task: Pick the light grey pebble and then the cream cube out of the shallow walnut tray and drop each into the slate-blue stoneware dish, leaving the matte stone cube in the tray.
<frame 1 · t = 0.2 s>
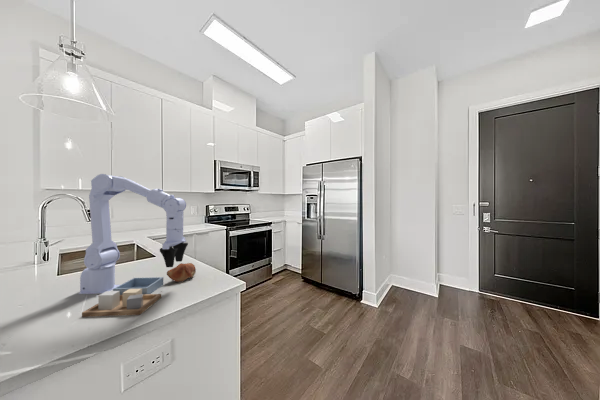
hand: (174, 264, 86), 10 cm above the counter, fingers open, 7 cm apart
cream cube: (132, 304, 73), resting on tray
tray: (125, 307, 72), on the counter
bread loaf: (182, 280, 97), on the counter
matte stone cube: (135, 309, 70), resting on tray
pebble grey: (109, 307, 71), resting on tray
dish: (139, 291, 84), on the counter
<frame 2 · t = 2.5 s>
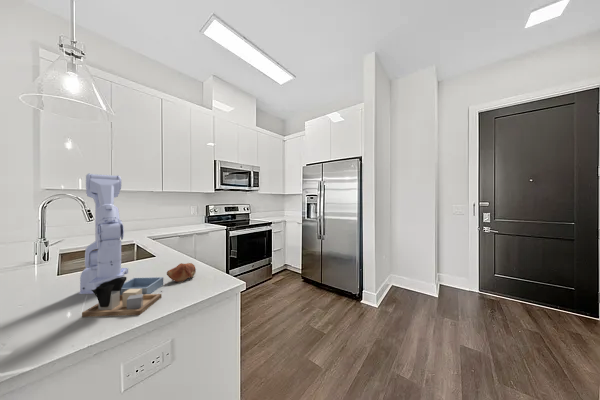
hand: (109, 303, 71), 2 cm above the counter, fingers closed on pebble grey, 3 cm apart
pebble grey: (109, 307, 71), resting on tray, touching gripper
everything else where it was.
when the fingers open (4 cm above the counter, at t = 5.1 s): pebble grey drops 2 cm, resting on dish.
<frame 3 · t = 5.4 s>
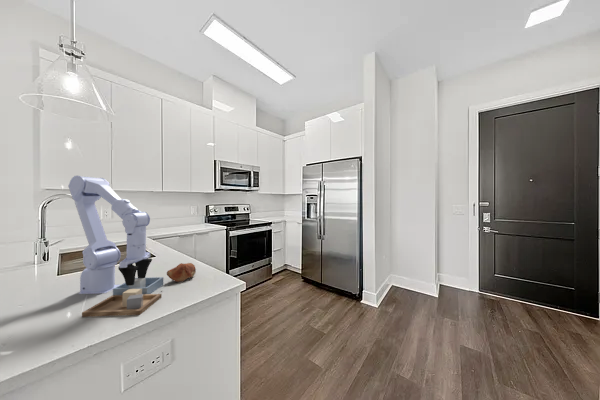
hand: (136, 281, 82), 4 cm above the counter, fingers open, 6 cm apart
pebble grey: (137, 292, 82), point 1 cm above the counter, touching dish
everything else where it was.
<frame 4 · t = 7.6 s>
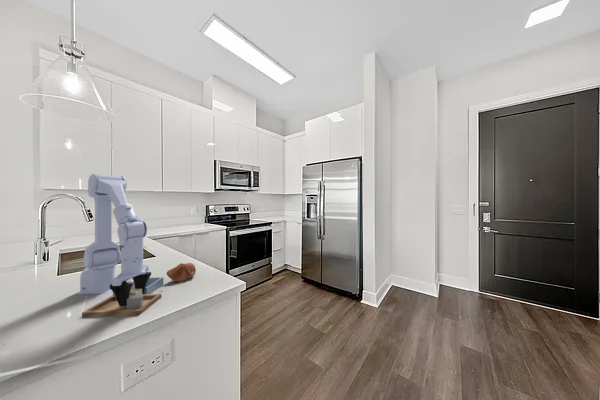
hand: (132, 300, 73), 2 cm above the counter, fingers open, 7 cm apart
matte stone cube: (135, 309, 70), resting on tray, touching gripper
everything else where it was.
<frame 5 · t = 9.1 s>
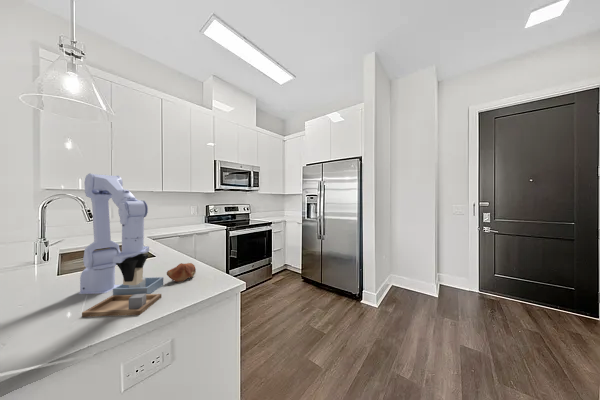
hand: (132, 279, 73), 9 cm above the counter, fingers closed on cream cube, 3 cm apart
cream cube: (133, 283, 73), point 7 cm above the counter, touching gripper
matte stone cube: (137, 308, 70), resting on tray
everything else where it was.
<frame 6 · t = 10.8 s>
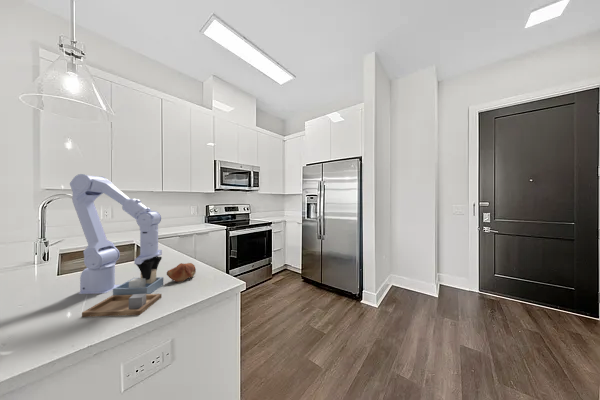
hand: (149, 277, 86), 5 cm above the counter, fingers closed on cream cube, 3 cm apart
cream cube: (148, 281, 86), point 3 cm above the counter, touching gripper
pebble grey: (137, 291, 82), point 1 cm above the counter, touching dish, gripper
everything else where it was.
when the fingers open (5 cm above the counter, at t = 11.4 s): cream cube drops 2 cm, resting on dish.
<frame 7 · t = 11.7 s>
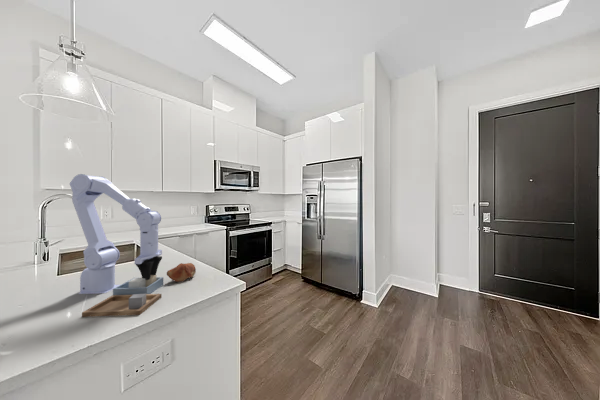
hand: (149, 277, 86), 5 cm above the counter, fingers open, 3 cm apart
cream cube: (148, 288, 86), point 1 cm above the counter, touching dish
everything else where it was.
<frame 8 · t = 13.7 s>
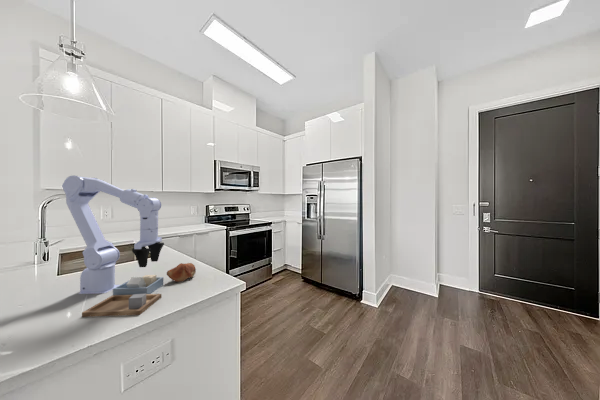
hand: (148, 264, 86), 10 cm above the counter, fingers open, 7 cm apart
cream cube: (148, 288, 86), point 1 cm above the counter, touching dish, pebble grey
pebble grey: (138, 289, 83), point 1 cm above the counter, tilted 28°, touching dish, cream cube
everything else where it was.
at the end: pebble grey inside the target area on the dish (0.9 cm from its centre), point 1.3 cm above the dish's base; cream cube inside the target area on the dish (2.8 cm from its centre), point 0.6 cm above the dish's base; matte stone cube moved 0.6 cm from its start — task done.
